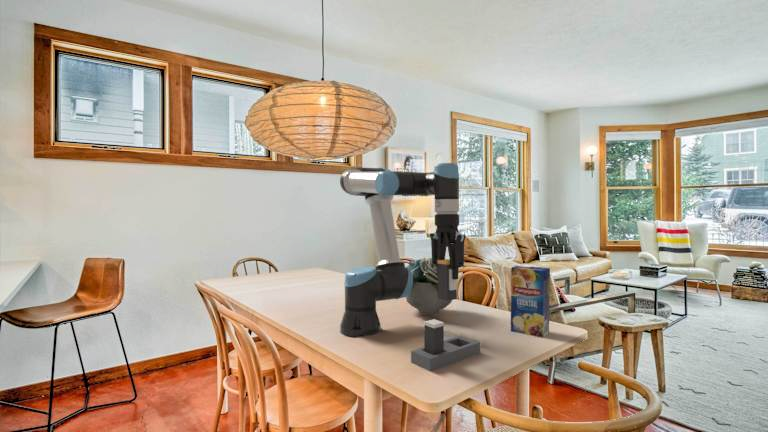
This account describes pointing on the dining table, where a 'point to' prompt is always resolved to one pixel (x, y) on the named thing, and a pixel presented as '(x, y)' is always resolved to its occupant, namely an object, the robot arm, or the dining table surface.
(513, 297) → the juice carton
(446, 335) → the hard drive
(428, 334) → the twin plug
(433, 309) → the flower arrangement
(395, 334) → the dining table surface
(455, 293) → the plug
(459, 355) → the grey socket block
